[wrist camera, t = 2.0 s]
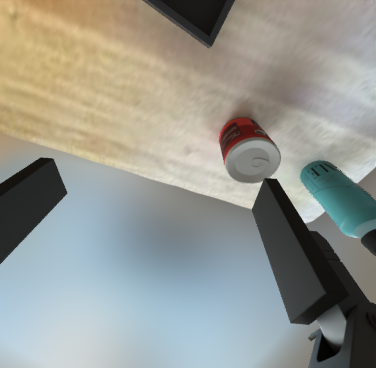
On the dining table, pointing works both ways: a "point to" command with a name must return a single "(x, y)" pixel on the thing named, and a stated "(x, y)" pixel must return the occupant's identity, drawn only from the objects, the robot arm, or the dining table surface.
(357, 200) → the beverage bottle
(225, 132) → the canned food
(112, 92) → the dining table surface
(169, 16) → the black square tray
